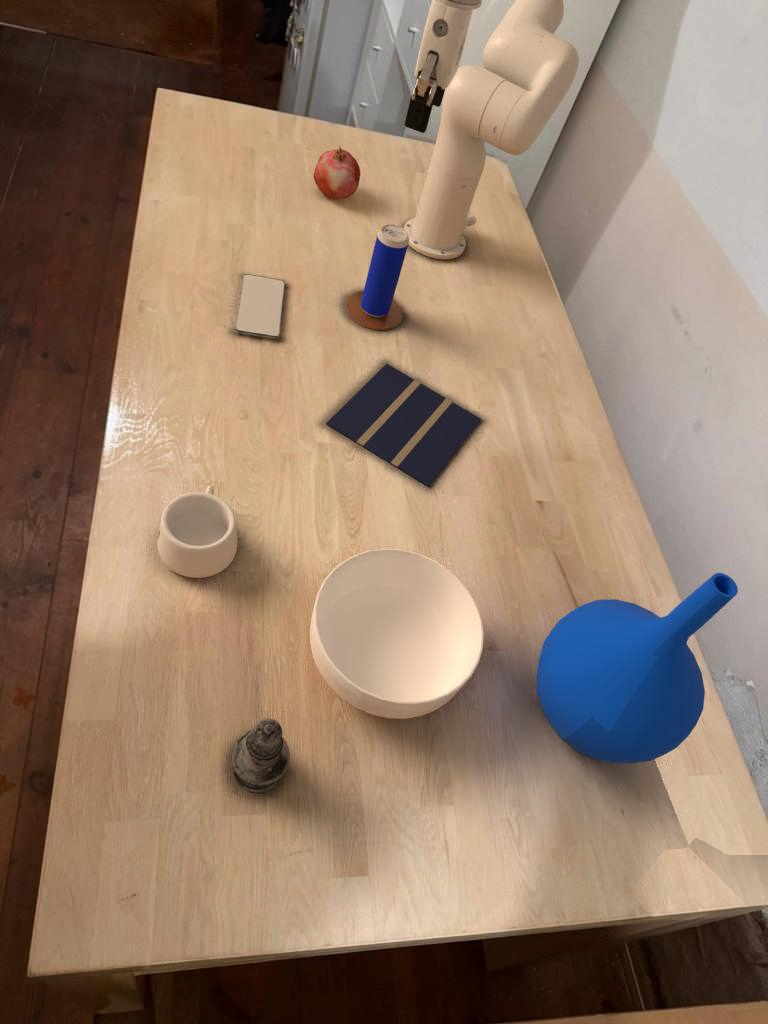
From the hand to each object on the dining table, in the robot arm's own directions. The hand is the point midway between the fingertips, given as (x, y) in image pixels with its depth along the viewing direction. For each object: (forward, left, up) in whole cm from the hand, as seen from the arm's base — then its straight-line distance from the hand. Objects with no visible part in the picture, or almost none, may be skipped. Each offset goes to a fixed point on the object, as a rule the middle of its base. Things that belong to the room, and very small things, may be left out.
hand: (422, 115), depth 110 cm
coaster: (+6, +5, -30) cm, 31 cm away
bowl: (+50, +53, -31) cm, 79 cm away
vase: (+35, +74, -31) cm, 87 cm away
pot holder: (+20, +27, -30) cm, 45 cm away
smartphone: (+23, -5, -30) cm, 38 cm away
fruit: (-12, -26, -31) cm, 42 cm away
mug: (+58, +27, -31) cm, 71 cm away
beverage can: (+6, +5, -30) cm, 31 cm away
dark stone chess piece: (+70, +54, -31) cm, 94 cm away
